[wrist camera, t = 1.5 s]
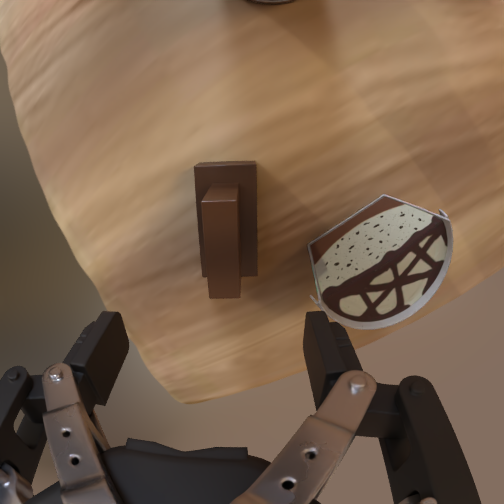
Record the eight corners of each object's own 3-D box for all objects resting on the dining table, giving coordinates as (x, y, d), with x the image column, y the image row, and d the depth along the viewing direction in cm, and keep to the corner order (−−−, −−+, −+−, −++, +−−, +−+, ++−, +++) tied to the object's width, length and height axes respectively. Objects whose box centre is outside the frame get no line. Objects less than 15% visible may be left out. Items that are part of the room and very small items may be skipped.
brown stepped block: (199, 162, 25) (177, 178, 17) (255, 160, 25) (259, 175, 17) (206, 264, 29) (192, 315, 21) (256, 263, 29) (260, 315, 21)
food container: (323, 295, 31) (349, 359, 22) (293, 252, 29) (314, 311, 20) (416, 234, 28) (470, 277, 19) (395, 186, 26) (455, 216, 17)
